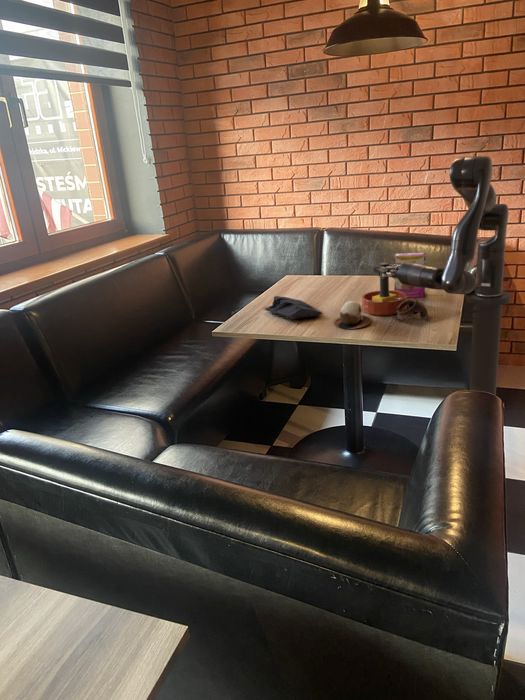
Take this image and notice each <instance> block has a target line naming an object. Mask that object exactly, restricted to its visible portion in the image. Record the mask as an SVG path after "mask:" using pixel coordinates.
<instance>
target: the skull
mask: <svg viewBox="0 0 525 700" xmlns="http://www.w3.org/2000/svg"><path fill="white" fill-rule="evenodd" d="M362 313H363V310H362V305H361V304H360V303H359V302H357V301H354V300H348V301H346V302H345V303H344V304H343V306H342V307H341V309H340V311H339V318H337V319H336V320H335V321H334V325H335V326H336V327H338V328H340V329H348V330H352V329H359V328H363V327H366V326H368V325H369V324H371V322H372V319H371V318H370V316H367V315H364V314H363V315H362Z"/></svg>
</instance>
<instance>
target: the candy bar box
mask: <svg viewBox="0 0 525 700" xmlns="http://www.w3.org/2000/svg"><path fill="white" fill-rule="evenodd" d="M393 259H394V261H393V262H394V264H393V265H395V264H403V263H405V262H414V263H420V264H426V252H405V253H403V252H402V253H394V258H393ZM394 291H400V292H404V293H405V294H407V299H413V298H415V299H425V297H426V296H425V295H426V288H423V287H415V286H410V285H405V284H402V283H401V282H400V281H399V280H398V279H394Z"/></svg>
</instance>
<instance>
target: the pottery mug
mask: <svg viewBox="0 0 525 700" xmlns="http://www.w3.org/2000/svg"><path fill="white" fill-rule="evenodd" d="M406 305H407V309H406V310H404V311H402V312H400V310H401V309H402V308H403V307H404V306H406ZM397 309H398V310H397V314H396V315H397V316H396V317H397V320H398V321H400V322H401V320H406V319H409V318H412V319H413V318H414V319H415V315H418V314H419V315H420V318H425V319H426V322H429V321H430V317H429V313H428V310H427V308H426V306H425V305H424V304H423V303H422V302H421V301H418V299H417V298H407V300H406V301H404V302H402V303H401V304H400V305H399V306H398V308H397Z"/></svg>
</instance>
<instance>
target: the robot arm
mask: <svg viewBox="0 0 525 700" xmlns="http://www.w3.org/2000/svg"><path fill="white" fill-rule="evenodd" d="M492 176H493V161H492V158H491V157H490V156H487V155H480V156H479V155H478V156H477V155H475V156H461V157H457V158H455V159H454V160H453V162H452V163H451V164H450V167H449V181H450V184H451V186H452V188H453V189H454V190H455V192H456V193H457V194H458V195H460V196H461V198H462V200H463V201H464V204H465V205H466V207H467V211H465V213H464V214H463V216H462V217H461V218H460V219H459V221H458V222H457V224H456V225H455V227H454V229H453V231H452V234H451V241H450V250H449V256H448V257H447V259H446V260H447V261H446V262H445V265H444V268H443V267H440V266H434V265H427V264H426V263H425V264H420V263H414V262H405V263H403V264H395V265H394V264H392V263H391V264H389V266H388V267H380V265H373V273H375V274H377V276H378V277H379V278H380V277H381V278H383V279H387V277H389V278H392V279H394V280H395V279H398V280H399V281H400V282H401V283H402V284H405V285H410V286H415V287H423V288H425V289H429V290H435V291H436V290H437V291H438V290H439V291H440V290H441V291H444V292H445V293H447V294H450V295H467V294H468V293H470V292H471V291H474V290H476V291H475V295H476V296H478V297H483V298H495V297H500V296H502V291H503V286H504V285H503V284H504V282H508V281H510V280H509V278H504V269H505V255H506V242H507V230H508V223H509V214H510V213H509V211H510V210H509V206H508V204H507V203H497V200H498V199H497V197H498V196H497V193H496V190H495V188H494V187H493V185H492V184H491V182H492ZM479 231H487V232H488V231H489V232H490V231H496V232H495V234H494V235H492V236H490V237H488V238H484V239H482V240H481V239H480V241H478V234H479ZM477 241H478V243H477ZM476 249H477V255H476ZM475 255H476V256H475ZM475 257H476V273H475V274H476V275H474V274H473V273H472V272H471V271H467V270H465V269H466V265H467V264H468V263H471V262H473V260H474V259H475ZM385 270H386V271H385Z"/></svg>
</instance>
